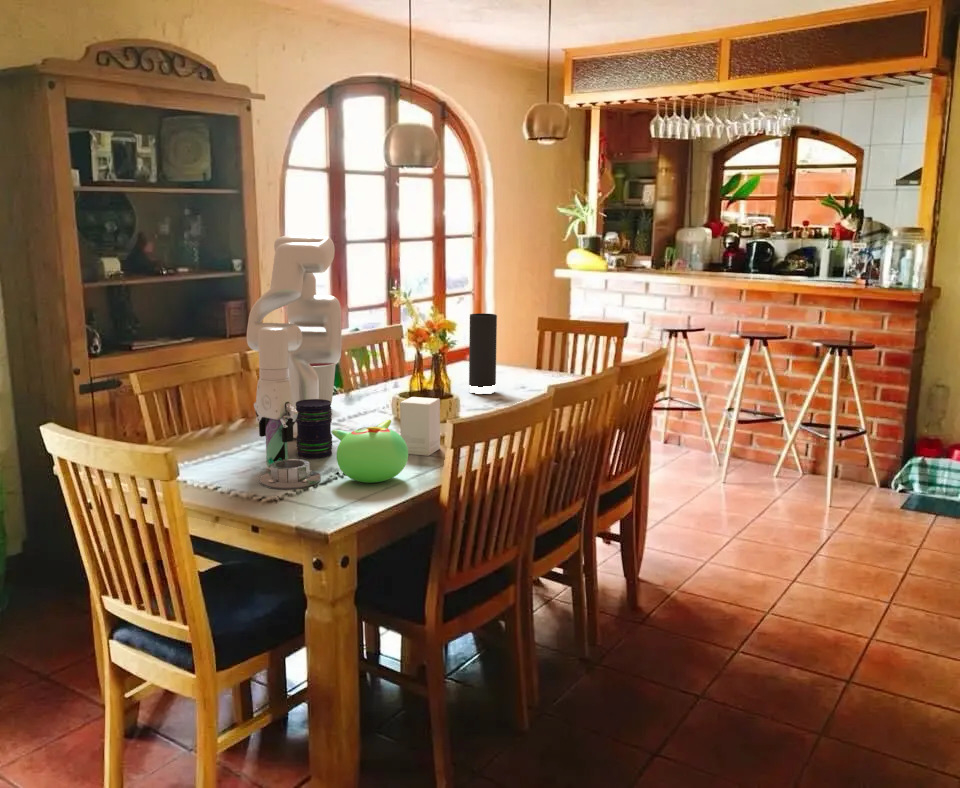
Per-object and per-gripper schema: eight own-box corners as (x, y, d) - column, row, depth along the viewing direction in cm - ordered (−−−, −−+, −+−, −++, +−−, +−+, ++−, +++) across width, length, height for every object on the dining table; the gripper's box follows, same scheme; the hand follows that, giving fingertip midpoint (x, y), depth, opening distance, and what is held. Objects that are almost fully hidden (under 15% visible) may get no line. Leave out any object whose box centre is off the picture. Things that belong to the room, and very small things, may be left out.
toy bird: (346, 493, 210) (345, 434, 208) (329, 475, 226) (328, 419, 223) (416, 485, 218) (416, 428, 215) (395, 468, 233) (395, 414, 230)
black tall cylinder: (467, 390, 342) (468, 313, 336) (493, 389, 343) (494, 313, 337) (470, 395, 331) (471, 316, 326) (496, 394, 333) (498, 316, 327)
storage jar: (302, 461, 239) (300, 407, 236) (292, 452, 247) (290, 400, 244) (337, 456, 243) (336, 404, 240) (326, 448, 252) (325, 397, 249)
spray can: (268, 464, 234) (265, 391, 230) (289, 464, 235) (287, 391, 231) (265, 470, 229) (262, 395, 225) (286, 470, 229) (284, 395, 226)
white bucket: (346, 410, 302) (345, 350, 297) (297, 416, 292) (295, 354, 287) (325, 401, 316) (323, 344, 312) (277, 407, 306) (275, 347, 302)
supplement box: (441, 448, 253) (441, 398, 250) (429, 456, 245) (429, 404, 242) (412, 445, 256) (412, 395, 253) (399, 453, 248) (399, 401, 245)
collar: (295, 468, 231) (295, 453, 230) (333, 479, 221) (332, 463, 221) (247, 480, 220) (247, 464, 219) (284, 493, 210) (284, 476, 209)
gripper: (242, 372, 230) (244, 435, 233) (283, 380, 219) (285, 446, 222) (266, 369, 235) (268, 431, 238) (307, 376, 224) (308, 441, 227)
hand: (276, 438), depth 230 cm, fingers open, 9 cm apart
